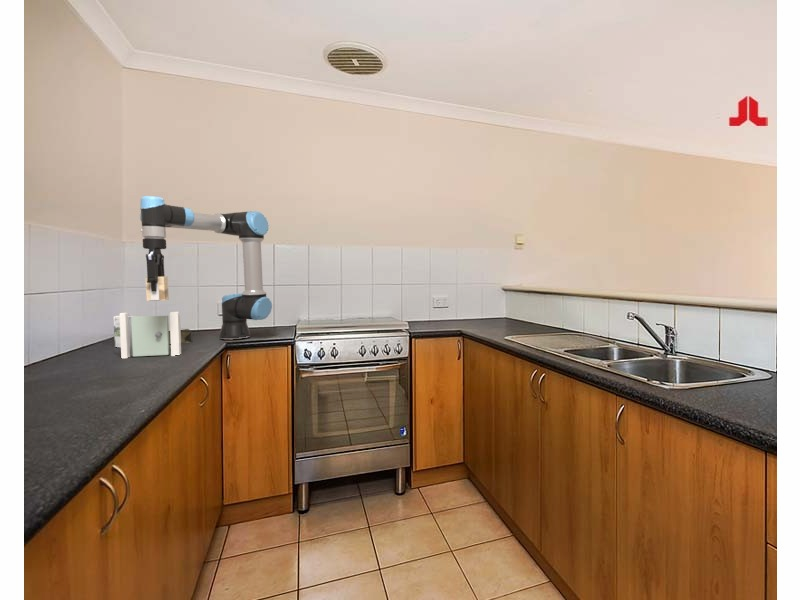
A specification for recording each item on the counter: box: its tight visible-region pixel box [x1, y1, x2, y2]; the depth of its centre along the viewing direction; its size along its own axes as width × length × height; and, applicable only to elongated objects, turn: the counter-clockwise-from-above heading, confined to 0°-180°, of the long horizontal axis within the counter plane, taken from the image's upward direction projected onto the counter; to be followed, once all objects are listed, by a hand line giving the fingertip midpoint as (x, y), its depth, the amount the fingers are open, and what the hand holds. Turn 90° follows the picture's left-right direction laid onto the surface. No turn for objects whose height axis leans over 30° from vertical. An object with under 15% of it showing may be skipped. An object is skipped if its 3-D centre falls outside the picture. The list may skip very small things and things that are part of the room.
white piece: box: [118, 311, 182, 359], centre depth 154 cm, size 20×3×18 cm, turn 107°
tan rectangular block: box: [145, 276, 170, 302], centre depth 145 cm, size 6×5×9 cm
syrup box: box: [112, 314, 135, 349], centre depth 172 cm, size 6×6×14 cm
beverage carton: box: [169, 328, 193, 344], centre depth 182 cm, size 8×19×7 cm, turn 127°
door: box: [129, 315, 171, 357], centre depth 153 cm, size 14×4×16 cm, turn 107°
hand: (157, 299), depth 145 cm, fingers closed on tan rectangular block, 5 cm apart
